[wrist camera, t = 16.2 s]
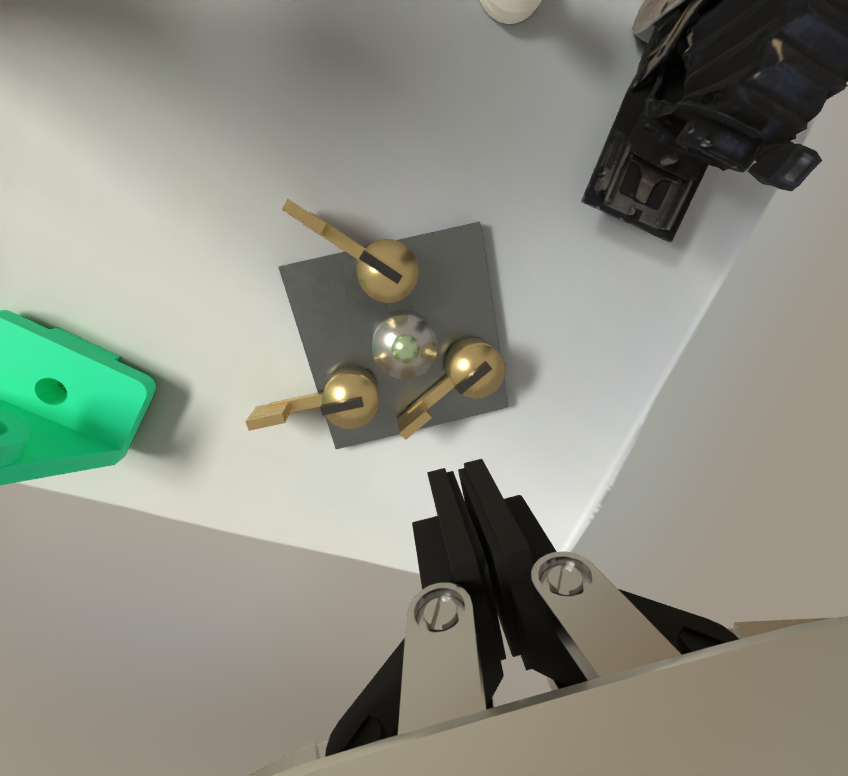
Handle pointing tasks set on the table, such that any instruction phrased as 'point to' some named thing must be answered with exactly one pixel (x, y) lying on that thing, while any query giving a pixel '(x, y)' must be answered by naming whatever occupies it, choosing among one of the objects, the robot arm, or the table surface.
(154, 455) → the table surface
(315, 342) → the levelling plate
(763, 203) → the table surface
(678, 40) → the vintage camera
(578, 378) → the table surface
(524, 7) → the chess pawn
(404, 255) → the foot screw
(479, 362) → the foot screw
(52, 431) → the camera mount
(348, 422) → the foot screw
